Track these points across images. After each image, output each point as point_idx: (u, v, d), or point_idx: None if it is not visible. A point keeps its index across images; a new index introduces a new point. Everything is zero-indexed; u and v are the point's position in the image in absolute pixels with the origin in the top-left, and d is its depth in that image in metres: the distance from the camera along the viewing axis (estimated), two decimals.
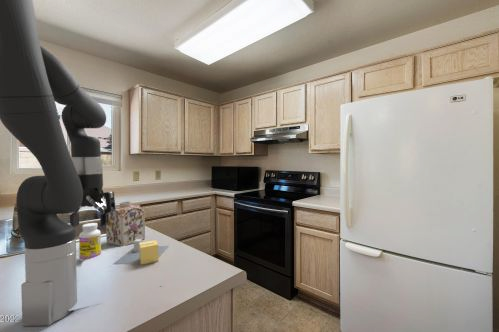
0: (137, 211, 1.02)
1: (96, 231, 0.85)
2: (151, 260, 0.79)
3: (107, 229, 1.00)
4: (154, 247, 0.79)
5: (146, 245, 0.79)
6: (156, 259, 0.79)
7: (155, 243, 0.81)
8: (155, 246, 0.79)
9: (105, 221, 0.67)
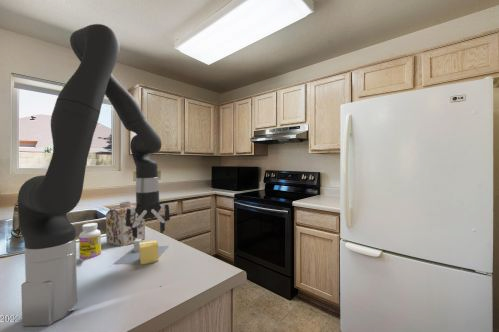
0: None
1: (96, 231, 0.85)
2: (151, 260, 0.79)
3: (107, 229, 1.00)
4: (154, 247, 0.79)
5: (146, 245, 0.79)
6: (156, 259, 0.79)
7: (155, 243, 0.81)
8: (155, 246, 0.79)
9: None
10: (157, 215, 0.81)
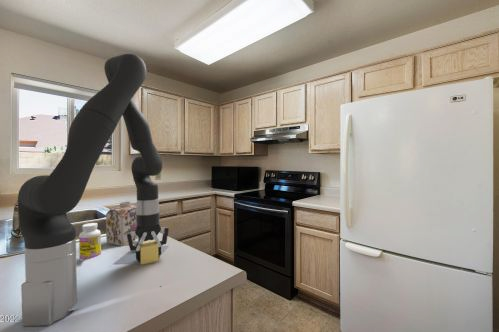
0: None
1: (96, 231, 0.85)
2: (151, 260, 0.79)
3: (107, 229, 1.00)
4: (154, 247, 0.79)
5: (146, 245, 0.79)
6: (156, 259, 0.79)
7: (155, 243, 0.81)
8: (155, 246, 0.79)
9: None
10: (155, 238, 0.80)
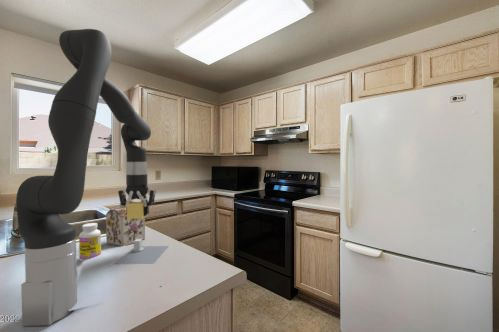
0: None
1: (96, 231, 0.85)
2: (135, 217, 0.86)
3: (107, 229, 1.00)
4: (138, 205, 0.86)
5: (133, 203, 0.88)
6: (140, 217, 0.86)
7: (141, 202, 0.88)
8: (139, 205, 0.86)
9: None
10: (141, 198, 0.87)
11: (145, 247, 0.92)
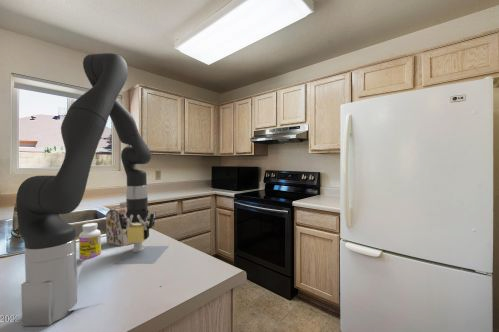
0: None
1: (96, 231, 0.85)
2: (136, 240, 0.87)
3: (107, 229, 1.00)
4: (138, 229, 0.87)
5: (133, 226, 0.88)
6: (140, 240, 0.87)
7: (142, 226, 0.88)
8: (139, 228, 0.87)
9: None
10: (141, 221, 0.88)
11: (145, 247, 0.92)
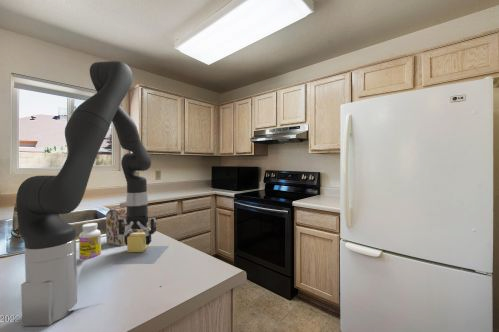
0: None
1: (96, 231, 0.85)
2: (136, 250, 0.87)
3: (107, 229, 1.00)
4: (138, 239, 0.87)
5: (134, 235, 0.88)
6: (140, 250, 0.87)
7: (142, 235, 0.88)
8: (139, 238, 0.87)
9: None
10: (142, 227, 0.88)
11: None
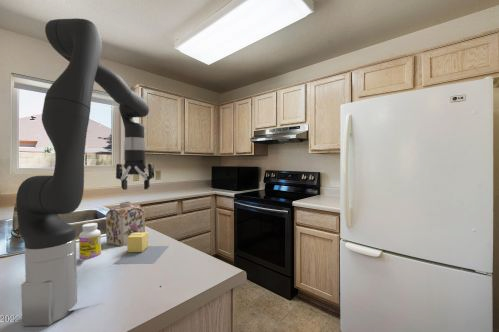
0: (137, 211, 1.02)
1: (96, 231, 0.85)
2: (136, 250, 0.87)
3: (107, 229, 1.00)
4: (138, 239, 0.87)
5: (134, 235, 0.88)
6: (140, 250, 0.87)
7: (142, 235, 0.88)
8: (139, 238, 0.87)
9: None
10: (140, 172, 0.89)
11: None
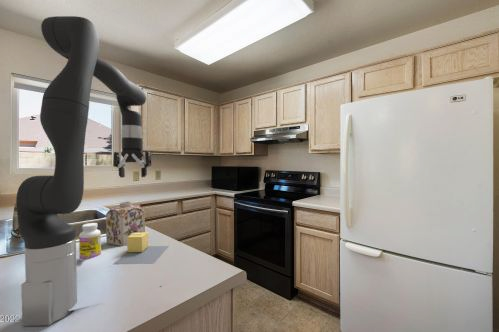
0: (137, 211, 1.02)
1: (96, 231, 0.85)
2: (136, 250, 0.87)
3: (107, 229, 1.00)
4: (138, 239, 0.87)
5: (134, 235, 0.88)
6: (140, 250, 0.87)
7: (142, 235, 0.88)
8: (139, 238, 0.87)
9: None
10: (137, 160, 0.90)
11: None
